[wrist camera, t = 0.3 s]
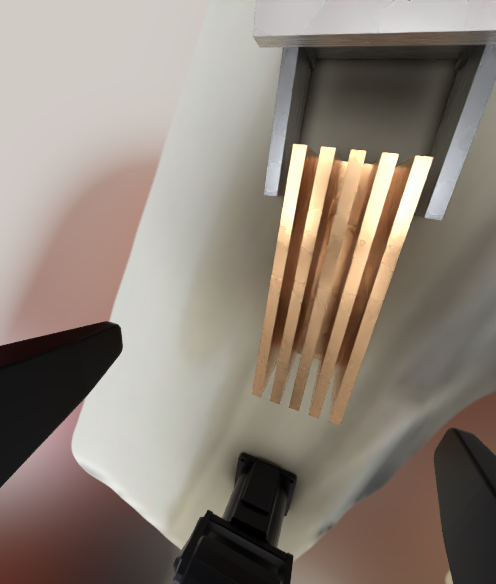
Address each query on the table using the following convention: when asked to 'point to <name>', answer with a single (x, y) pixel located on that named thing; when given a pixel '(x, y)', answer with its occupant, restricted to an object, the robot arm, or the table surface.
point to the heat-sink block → (333, 268)
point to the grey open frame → (382, 45)
